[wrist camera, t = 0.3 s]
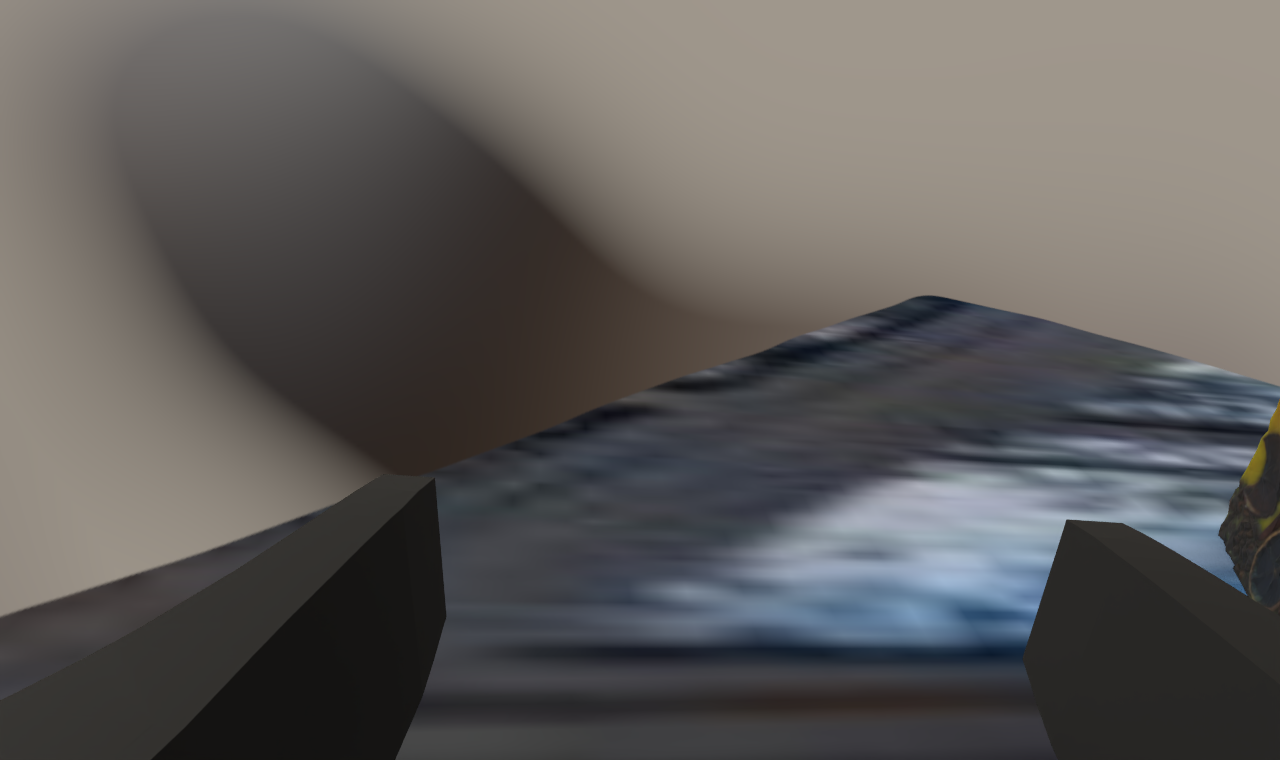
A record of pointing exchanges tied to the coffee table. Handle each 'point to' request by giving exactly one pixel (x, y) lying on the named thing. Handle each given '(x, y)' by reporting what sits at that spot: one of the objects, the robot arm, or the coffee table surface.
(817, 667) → the coffee table surface
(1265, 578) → the candle
